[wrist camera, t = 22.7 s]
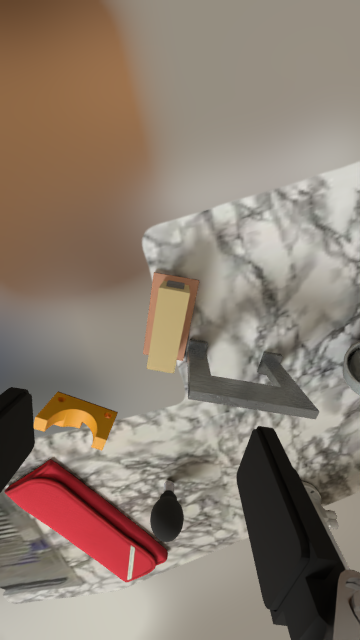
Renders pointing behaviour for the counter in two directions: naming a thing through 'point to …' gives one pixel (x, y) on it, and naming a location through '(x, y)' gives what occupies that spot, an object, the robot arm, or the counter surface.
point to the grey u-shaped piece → (247, 386)
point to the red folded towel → (87, 521)
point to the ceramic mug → (352, 368)
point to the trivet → (157, 281)
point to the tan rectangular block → (168, 325)
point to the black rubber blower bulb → (167, 515)
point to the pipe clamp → (77, 417)
